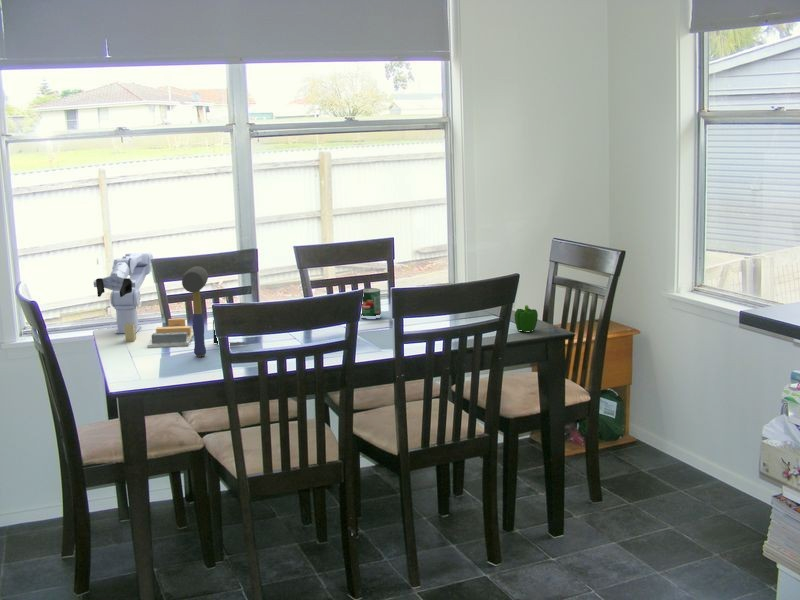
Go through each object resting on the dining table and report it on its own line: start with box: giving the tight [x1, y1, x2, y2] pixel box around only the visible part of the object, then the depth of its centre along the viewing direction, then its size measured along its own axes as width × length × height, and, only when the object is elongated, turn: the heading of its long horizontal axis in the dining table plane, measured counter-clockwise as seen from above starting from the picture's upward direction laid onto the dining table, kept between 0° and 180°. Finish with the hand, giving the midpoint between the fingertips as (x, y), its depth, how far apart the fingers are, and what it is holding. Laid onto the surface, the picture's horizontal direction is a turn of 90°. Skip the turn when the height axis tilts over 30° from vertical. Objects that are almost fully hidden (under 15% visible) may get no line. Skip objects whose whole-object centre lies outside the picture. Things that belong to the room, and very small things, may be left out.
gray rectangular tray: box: [147, 327, 194, 349], centre depth 335 cm, size 24×14×4 cm, turn 5°
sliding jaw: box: [155, 317, 192, 334], centre depth 341 cm, size 10×12×4 cm
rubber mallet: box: [181, 265, 209, 358], centre depth 307 cm, size 12×8×30 cm, turn 3°
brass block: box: [124, 323, 137, 343], centre depth 334 cm, size 4×3×6 cm
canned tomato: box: [360, 287, 382, 317], centre depth 361 cm, size 8×8×11 cm
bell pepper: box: [514, 304, 539, 332], centre depth 333 cm, size 8×8×10 cm
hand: (109, 294), depth 325 cm, fingers open, 7 cm apart
